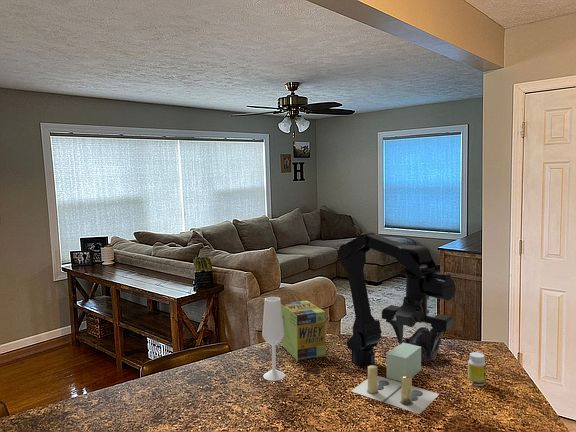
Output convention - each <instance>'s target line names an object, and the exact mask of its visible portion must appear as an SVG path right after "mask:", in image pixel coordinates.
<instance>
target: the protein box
mask: <svg viewBox="0 0 576 432" xmlns="http://www.w3.org/2000/svg"><path fill="white" fill-rule="evenodd" d="M281 309H282V318H283V327H284V337H283V339H282V340H281V346H282V347H283V348H284V349H285V350H286V351H287V352H288V354H290V355H291V356H292V357H293V358H294V359H295V360H296V361H297V362H298V361H299V362H300V361H304V360H308V359H309V360H310V359H315V358H323V357H325V356H326V311H324V310H323V309H321V308H320V307H318V306H317V305H315V304H313V303H312V302H310V301H309V300H300V301H299V300H298V301H293V302H291V301H290V302H283V303H282V302H281Z"/></svg>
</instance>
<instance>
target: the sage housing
mask: <svg viewBox="0 0 576 432" xmlns="http://www.w3.org/2000/svg"><path fill="white" fill-rule="evenodd" d="M420 371H422V362H421V347H420V346H416V345H412V344H407V343H402V344H400V345H399V344H398V345H397V346H395V347H394V348H392V349H391V350H389V351H388V352H386V375H385V376H386V377H385V378H387V379H390V380H394V381H397V382H400V383H401V377H402V375H410V376H412V378H413V377H415V375H417V374H419V372H420Z"/></svg>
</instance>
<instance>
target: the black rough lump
mask: <svg viewBox="0 0 576 432" xmlns="http://www.w3.org/2000/svg"><path fill="white" fill-rule="evenodd" d="M441 342H442V339H441V336H440V337H439V339H438V341H437V344H436V346H435V348H434V351H433V352H431V348H430V345H431V332H430V330H429V328H427V327H425V326H423V327H422V326H421V327H418V329H417V330H416V331H415V332H414V333H413V334H412V335H410V337H409V338H408V337H406V338H403V341H402V343H407V344H412V345H416V346H420V347H421V363H422V362H430V361H434V360H436V359H437V355H438V352H439V350H440V343H441ZM398 345H400V344H399V343H398Z"/></svg>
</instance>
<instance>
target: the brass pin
mask: <svg viewBox="0 0 576 432" xmlns="http://www.w3.org/2000/svg"><path fill="white" fill-rule="evenodd" d="M412 381H413V377H412V376H410V375H402V377H401V382H400V383H401V403H402V404H405V405H410V404H411V403H412V386H413V382H412Z"/></svg>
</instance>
